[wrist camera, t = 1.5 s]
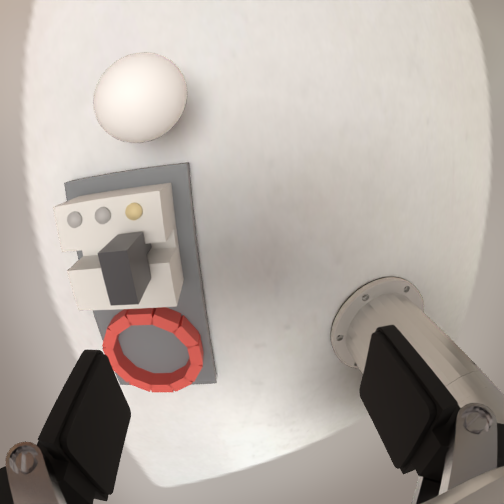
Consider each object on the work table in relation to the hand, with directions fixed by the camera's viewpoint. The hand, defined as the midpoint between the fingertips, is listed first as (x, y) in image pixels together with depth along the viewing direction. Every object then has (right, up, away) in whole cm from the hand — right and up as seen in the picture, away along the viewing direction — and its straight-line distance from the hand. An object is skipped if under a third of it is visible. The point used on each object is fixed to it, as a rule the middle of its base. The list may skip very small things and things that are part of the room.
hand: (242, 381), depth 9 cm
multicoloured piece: (-11, 0, +20) cm, 23 cm away
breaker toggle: (-9, +5, +15) cm, 18 cm away
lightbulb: (-8, +17, +15) cm, 24 cm away
